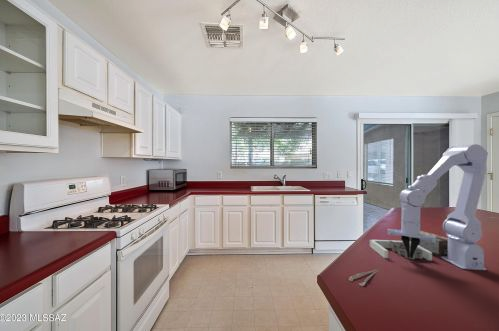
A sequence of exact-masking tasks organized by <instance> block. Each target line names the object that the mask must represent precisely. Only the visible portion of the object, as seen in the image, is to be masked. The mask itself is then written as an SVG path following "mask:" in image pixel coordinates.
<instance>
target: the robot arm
mask: <svg viewBox="0 0 499 331" xmlns="http://www.w3.org/2000/svg"><path fill="white" fill-rule="evenodd" d="M488 155H489V152H488V151H487V150H486V149H485V148H484V146H482V145H481V144H476V143H475V144H469V145H461V146H460V145H459V146H450V147H448V148H447V149H446V151H445V152H443V153H442V157H441V158H440V159H439V160H438V162H437V163H436V164H435V165H434V166H433V167H432V169H430V170H429V172H428V173H427V174H421V175H418V176H417V177H416V179H415V181H414V182H413V183H412V184H411V185H409V186H407V187H408V188H406V189H403V190H402V191H401V192H400V193H399V195H398V196H397V198H398V200H399V202H400V205H401V218H400V219H401V220H400V222H401V224H400V226H401V227H400V228H401V229H393V228H392V229H391V228H387V235H388V236H391V235H392V236H396V237H401V241H403V243H404V246H405V248H406V251H407V257H409V258H413V255H414V252H415V250H416V248H417V246H418V245H419V244H420V240H426V241H432V242H434V243H436V237H435V236H432V235H427V234H422V233H420V230H421V206H422V205H423V204H425V202H426V197H427V195H428V194H429V193H430V192H432V190H433V189H434V188H436V187H437V186H438V181H437V180H439V179H440V178H441V177H442V176H443V175H444V174H446V173H447V172H448V171H449V170H450V169H451V168H452V167H455V166H457V167H458V168H459V169H461V170H462V171H463V176H462V179H461V183H460V188H459V191H458V196H457V199H456V203H455V207H454V211H452V212H450V213H449V214H447V217H446V219H445V220H444V221H443V222H442V230H443V231H444V233H446V236H447V238H448V254H447V257H445V256H441V257H440V258H441V259H443V260H445V261H447V262H449V263H451V264H453V265H454V266H456V267H458V268H459V269H462V270H475V271H487V268H486V267H485V251H484V249H483V248H482V247H481V246H480V245H478V242H479V240H480V239H481V238H482V235H483V232H482V222H481V221H480V220H479V219H478V218H477V217H476V213H477V210H478V205H479V202H480V197H481V194H482V191H483V190H482V189H483V185H484V181H485V178H486V174H487V163H486V162H487V158H488ZM409 238H411V250H410V252H409V245H410V241H409ZM409 258H408V259H409Z"/></svg>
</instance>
